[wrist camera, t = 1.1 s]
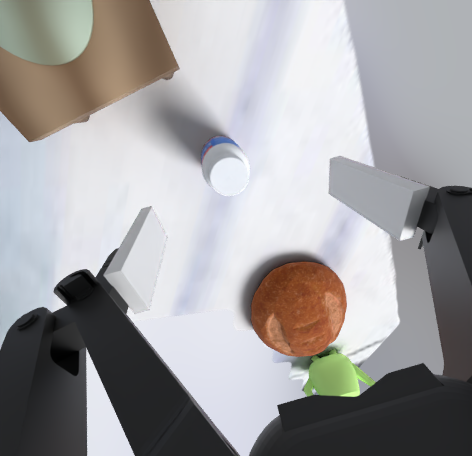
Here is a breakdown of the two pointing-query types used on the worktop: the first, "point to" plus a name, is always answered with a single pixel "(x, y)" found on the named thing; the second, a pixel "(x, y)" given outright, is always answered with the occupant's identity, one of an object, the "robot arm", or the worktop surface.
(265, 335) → the bread
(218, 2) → the worktop surface
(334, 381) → the teapot
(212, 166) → the pill bottle
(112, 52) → the small wooden table
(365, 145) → the worktop surface
